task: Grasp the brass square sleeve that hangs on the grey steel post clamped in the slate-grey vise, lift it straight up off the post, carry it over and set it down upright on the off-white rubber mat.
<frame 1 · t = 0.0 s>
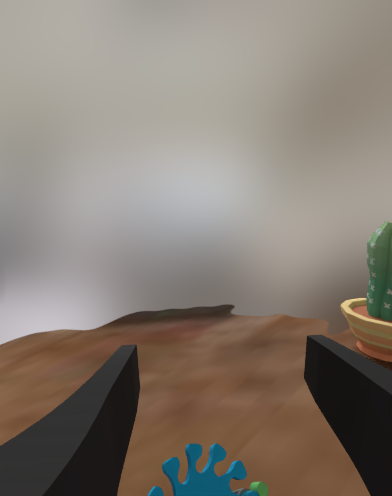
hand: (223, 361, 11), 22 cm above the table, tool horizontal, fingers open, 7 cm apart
potted cactus: (383, 350, 53), on the table
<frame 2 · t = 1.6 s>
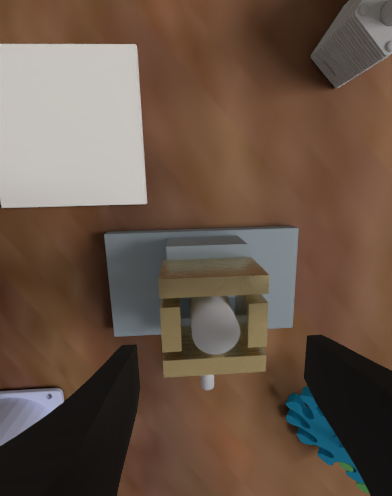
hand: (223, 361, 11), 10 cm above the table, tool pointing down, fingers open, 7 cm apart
gear: (324, 404, 25), on the table
padlock: (358, 34, 18), on the table
sleeve: (208, 300, 17), point 4 cm above the table, touching vise
mat: (69, 131, 18), on the table
vise: (202, 278, 21), on the table
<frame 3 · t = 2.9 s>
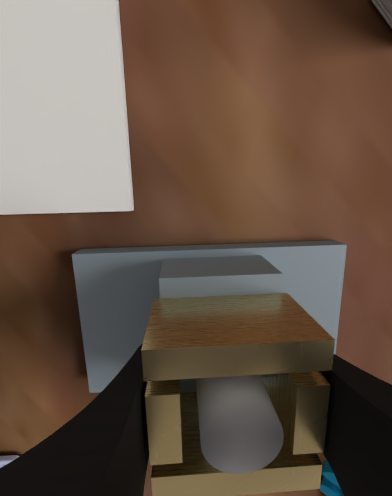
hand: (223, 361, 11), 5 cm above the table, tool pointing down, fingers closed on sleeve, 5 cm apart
gear: (368, 467, 19), on the table
sleeve: (221, 355, 12), point 4 cm above the table, touching gripper, vise
mat: (20, 107, 13), on the table
vise: (210, 311, 16), on the table
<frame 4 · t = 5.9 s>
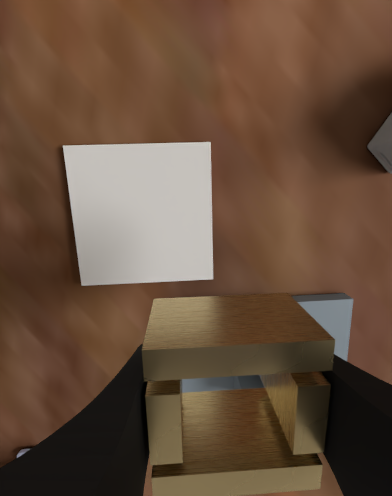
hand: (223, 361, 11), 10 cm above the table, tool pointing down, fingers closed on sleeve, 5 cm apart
sleeve: (221, 355, 12), point 10 cm above the table, touching gripper
mat: (144, 216, 20), on the table
vise: (260, 341, 23), on the table
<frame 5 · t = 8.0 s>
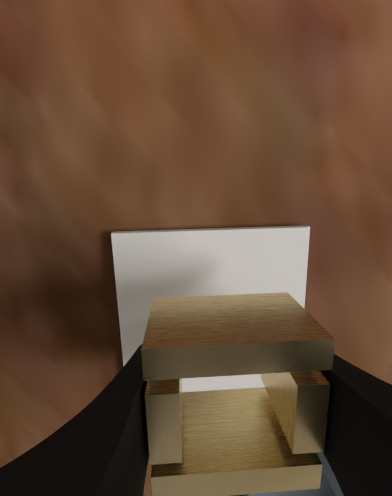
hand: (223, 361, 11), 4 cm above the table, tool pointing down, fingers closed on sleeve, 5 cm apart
sleeve: (221, 355, 12), point 4 cm above the table, touching gripper
mat: (211, 316, 15), on the table
vise: (347, 460, 18), on the table
when the fingers open (3 cm above the table, at t = 9.4 s): sleeve drops 2 cm, resting on mat.
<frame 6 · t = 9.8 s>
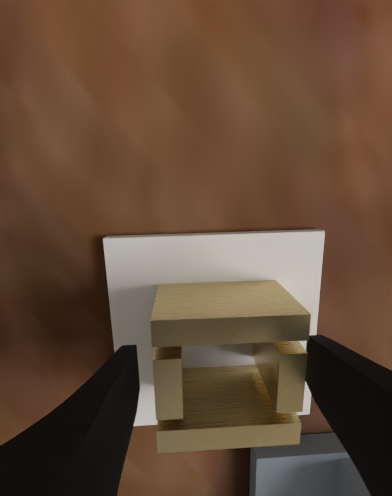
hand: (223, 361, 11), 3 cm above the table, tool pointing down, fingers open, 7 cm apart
sleeve: (217, 335, 13), point 1 cm above the table, touching mat
mat: (215, 329, 14), on the table
vise: (361, 483, 17), on the table
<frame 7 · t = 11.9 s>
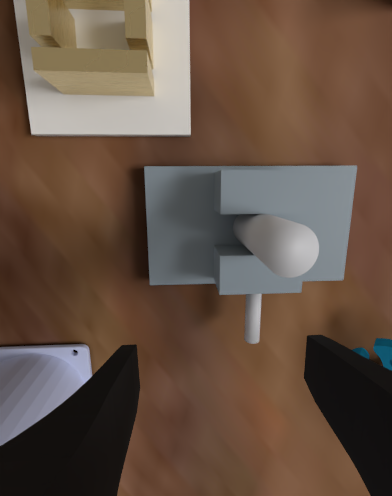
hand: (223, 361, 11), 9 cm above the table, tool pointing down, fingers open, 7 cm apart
gear: (380, 369, 23), on the table
sleeve: (106, 44, 16), point 1 cm above the table, touching mat
mat: (108, 49, 17), on the table
vise: (246, 224, 19), on the table
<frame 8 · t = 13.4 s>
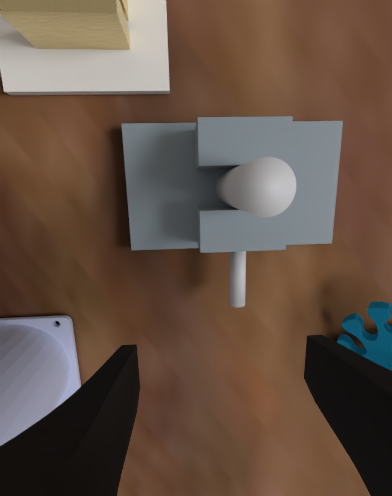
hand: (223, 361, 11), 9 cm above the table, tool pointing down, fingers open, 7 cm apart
gear: (375, 339, 23), on the table
mat: (81, 2, 16), on the table
vise: (230, 187, 19), on the table
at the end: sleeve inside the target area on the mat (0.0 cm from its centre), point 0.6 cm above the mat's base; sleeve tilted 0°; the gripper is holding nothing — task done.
